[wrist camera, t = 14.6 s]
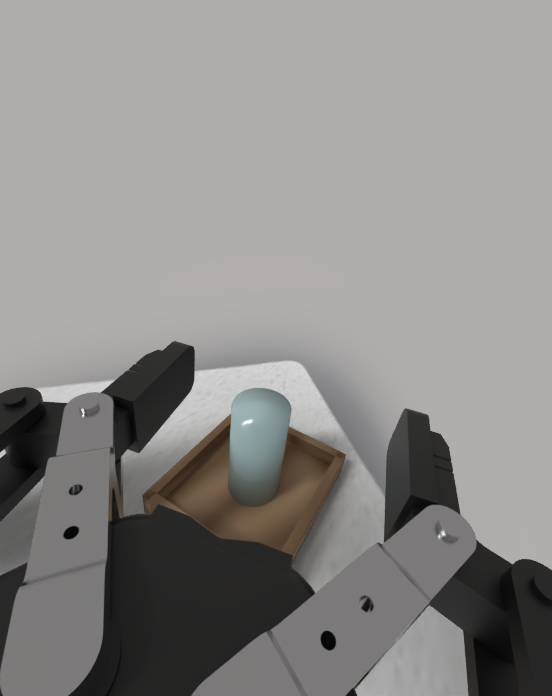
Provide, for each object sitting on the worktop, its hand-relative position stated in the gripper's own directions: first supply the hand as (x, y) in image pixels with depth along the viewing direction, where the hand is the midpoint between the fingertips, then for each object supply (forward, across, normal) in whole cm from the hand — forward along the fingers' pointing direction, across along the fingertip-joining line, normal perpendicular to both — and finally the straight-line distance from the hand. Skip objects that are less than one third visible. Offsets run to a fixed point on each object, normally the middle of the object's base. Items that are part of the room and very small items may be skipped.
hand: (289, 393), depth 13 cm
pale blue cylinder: (+15, +4, +28) cm, 32 cm away
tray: (+15, +4, +29) cm, 33 cm away
